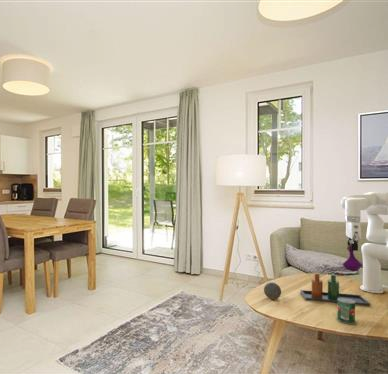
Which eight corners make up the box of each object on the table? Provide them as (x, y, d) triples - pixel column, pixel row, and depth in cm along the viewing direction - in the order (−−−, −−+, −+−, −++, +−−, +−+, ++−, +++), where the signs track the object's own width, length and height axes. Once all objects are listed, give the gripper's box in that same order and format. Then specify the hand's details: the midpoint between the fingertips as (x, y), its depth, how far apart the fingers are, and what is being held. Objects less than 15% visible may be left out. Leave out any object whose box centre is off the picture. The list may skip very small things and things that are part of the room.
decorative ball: (265, 294, 197) (265, 279, 197) (281, 297, 192) (282, 281, 192) (262, 299, 188) (262, 283, 188) (280, 303, 183) (280, 286, 183)
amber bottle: (320, 296, 192) (321, 272, 192) (323, 299, 186) (323, 275, 186) (310, 295, 194) (310, 271, 194) (312, 298, 188) (313, 274, 188)
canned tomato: (334, 316, 165) (335, 296, 164) (351, 318, 162) (351, 298, 162) (340, 323, 157) (340, 302, 157) (357, 325, 155) (357, 303, 154)
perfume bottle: (355, 272, 177) (355, 241, 177) (342, 269, 184) (341, 239, 183) (362, 270, 180) (362, 240, 180) (349, 267, 187) (348, 238, 187)
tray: (360, 298, 189) (360, 295, 189) (369, 307, 176) (370, 303, 176) (300, 293, 199) (300, 290, 199) (305, 301, 186) (305, 297, 186)
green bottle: (337, 297, 190) (337, 273, 189) (340, 301, 184) (340, 276, 184) (326, 296, 191) (326, 273, 191) (329, 300, 186) (329, 275, 185)
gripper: (366, 221, 172) (366, 253, 172) (354, 217, 188) (353, 246, 188) (351, 221, 174) (351, 252, 174) (340, 217, 190) (340, 245, 191)
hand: (352, 248), depth 181 cm, fingers closed on perfume bottle, 5 cm apart
